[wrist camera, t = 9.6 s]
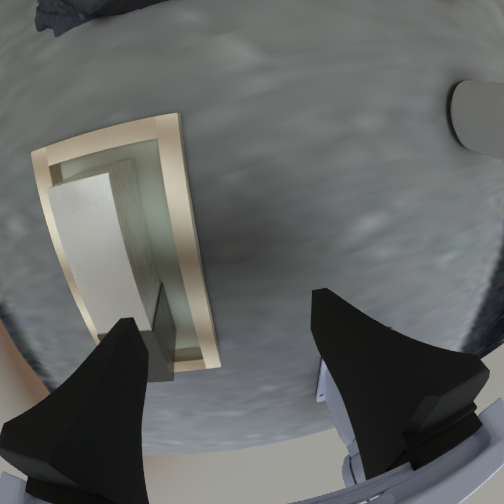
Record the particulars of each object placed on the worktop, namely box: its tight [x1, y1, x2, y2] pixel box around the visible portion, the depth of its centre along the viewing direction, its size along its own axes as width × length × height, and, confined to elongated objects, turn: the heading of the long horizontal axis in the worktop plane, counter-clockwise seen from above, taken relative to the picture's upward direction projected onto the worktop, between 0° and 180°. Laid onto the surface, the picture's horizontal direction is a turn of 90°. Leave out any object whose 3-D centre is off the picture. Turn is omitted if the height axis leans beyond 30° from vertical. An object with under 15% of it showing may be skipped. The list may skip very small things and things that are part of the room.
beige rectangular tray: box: [31, 113, 221, 372], centre depth 18 cm, size 18×9×2 cm, turn 5°
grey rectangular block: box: [47, 158, 177, 382], centre depth 16 cm, size 13×4×5 cm, turn 4°
